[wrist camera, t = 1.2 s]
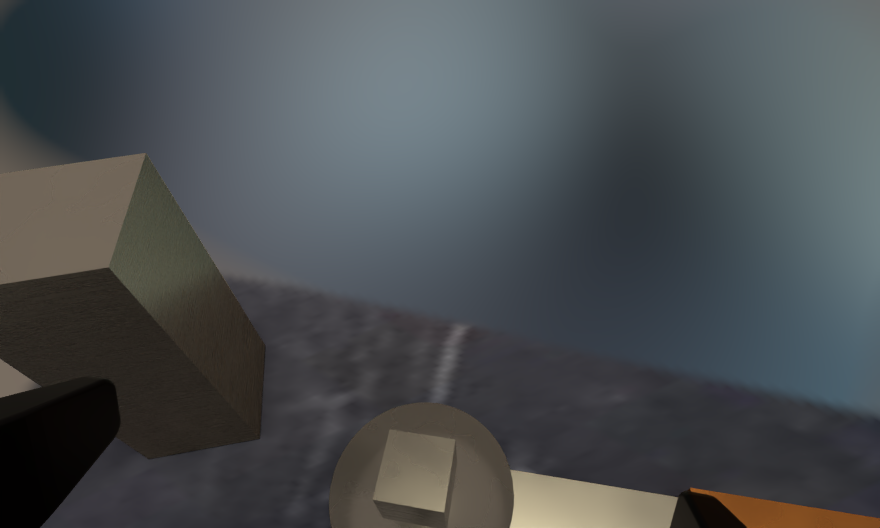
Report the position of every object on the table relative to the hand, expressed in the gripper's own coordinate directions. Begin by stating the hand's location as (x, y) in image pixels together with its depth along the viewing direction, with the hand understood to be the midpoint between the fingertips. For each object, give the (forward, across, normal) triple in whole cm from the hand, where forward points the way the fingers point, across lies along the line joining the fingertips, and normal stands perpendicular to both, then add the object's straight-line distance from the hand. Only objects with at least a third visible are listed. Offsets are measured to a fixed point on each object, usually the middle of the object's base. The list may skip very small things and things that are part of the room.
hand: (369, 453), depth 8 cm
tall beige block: (+13, +12, +10) cm, 20 cm away
